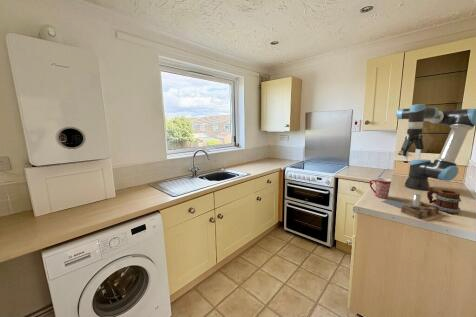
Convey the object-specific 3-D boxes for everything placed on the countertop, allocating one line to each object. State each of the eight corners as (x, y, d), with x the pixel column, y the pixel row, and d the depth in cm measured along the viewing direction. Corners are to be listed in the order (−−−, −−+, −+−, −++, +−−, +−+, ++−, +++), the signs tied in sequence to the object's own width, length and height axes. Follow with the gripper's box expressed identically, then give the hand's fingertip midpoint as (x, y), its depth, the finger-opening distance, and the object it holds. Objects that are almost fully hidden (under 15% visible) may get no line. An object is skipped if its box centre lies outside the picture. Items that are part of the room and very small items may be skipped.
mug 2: (462, 216, 110) (460, 190, 110) (427, 212, 121) (425, 189, 120) (462, 210, 118) (460, 186, 117) (429, 207, 129) (427, 184, 128)
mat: (394, 198, 138) (394, 198, 138) (414, 205, 127) (414, 204, 127) (380, 201, 134) (380, 201, 134) (400, 208, 123) (400, 208, 123)
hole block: (419, 207, 124) (420, 201, 123) (438, 213, 115) (439, 207, 114) (400, 212, 118) (401, 206, 117) (418, 219, 109) (419, 212, 109)
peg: (413, 212, 117) (415, 193, 115) (419, 215, 114) (422, 195, 112) (409, 213, 116) (412, 194, 114) (415, 215, 113) (418, 196, 111)
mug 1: (390, 197, 141) (393, 179, 139) (387, 200, 135) (389, 182, 133) (370, 192, 150) (372, 175, 148) (366, 195, 144) (368, 178, 142)
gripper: (419, 127, 137) (415, 156, 141) (396, 129, 129) (393, 160, 133) (433, 127, 131) (428, 158, 135) (409, 129, 122) (405, 162, 126)
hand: (411, 159), depth 134 cm, fingers open, 13 cm apart
